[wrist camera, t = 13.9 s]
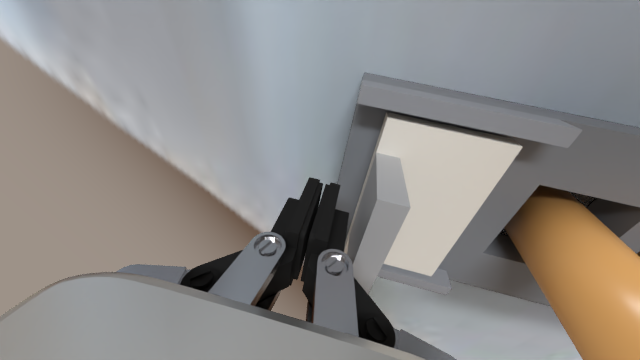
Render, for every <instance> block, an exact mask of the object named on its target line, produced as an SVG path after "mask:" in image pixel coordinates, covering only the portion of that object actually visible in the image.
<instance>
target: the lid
mask: <svg viewBox="0 0 640 360" xmlns="http://www.w3.org/2000/svg"><path fill="white" fill-rule="evenodd" d="M521 149H522V146H521V145H519V144H518V143H517V142H515V141H514V140H513V139H511V138H506V137H502V136H497V135H492V134H488V133H483V132H478V131H474V130H469V129H464V128H460V127H455V126H450V125H445V124H441V123H436V122H431V121H427V120H422V119H417V118H413V117H408V116H403V115H399V114H394V113H389V112H386V115H385V118H384V121H383V125H382V128H381V131H380V134H379V137H378V140H377V143H376V147H375V150H374V153H373V156H372V159H371V162H370V166H369V169H368V172H367V175H366V178H365V181H364V184H363V188H362V191H361V194H360V197H359V200H358V203H357V207H356V210H355V213H354V216H353V219H352V222H351V225H350V229H349V232H348V235H347V238H346V241H345V248H344V253H346V254H347V255H348V256H349V258H350V259H351V261H352V264H353V274H354V278H355V279H356V280H357V281H358V283H359V284H360V285H361V286H362V288H363V289H364V290H365V291H366V293H367V294H369V292H370V290H371V288H372V286H373V284H374V282H375V280H376V277H377V275H378V273H379V271H380V269H381V267H382V265H383V264H387V265H390V266H394V267H398V268H402V269H405V270H409V271H413V272H417V273H420V274H424V275H428V276H432V275H433V274H434V272H435V271H436V269H437V268H438V267H439V265H440V264H441V262H442V261H443V259H444V258H445V257H446V255H447V254H448V252H449V251H450V250H451V248H452V247H453V245H454V244H455V242H456V241H457V240H458V238H459V237H460V235H461V234H462V233H463V231H464V230H465V228H466V227H467V225H468V224H469V223H470V221H471V220H472V218H473V217H474V215H475V214H476V213H477V211H478V210H479V208H480V207H481V206H482V204H483V203H484V201H485V200H486V198H487V197H488V196H489V194H490V193H491V191H492V190H493V189H494V187H495V186H496V184H497V183H498V181H499V180H500V179H501V177H502V176H503V174H504V173H505V172H506V170H507V169H508V167H509V166H510V164H511V163H512V162H513V160H514V159H515V157H516V156H517V155H518V153H519V152H520V150H521Z"/></svg>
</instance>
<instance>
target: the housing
mask: <svg viewBox="0 0 640 360" xmlns="http://www.w3.org/2000/svg"><path fill="white" fill-rule="evenodd" d="M386 112H389V113H394V114H399V115H403V116H408V117H413V118H417V119H422V120H427V121H431V122H436V123H441V124H445V125H450V126H455V127H460V128H464V129H469V130H474V131H478V132H483V133H488V134H492V135H497V136H502V137H506V138H511V139H513V140H514V141H515V142H517V143H518V144H519V145H521V146H522V149H521V150H520V152H519V153H518V155H517V156H516V157H515V159H514V160H513V162H512V163H511V164H510V166H509V167H508V169H507V170H506V172H505V173H504V174H503V176H502V177H501V179H500V180H499V181H498V183H497V184H496V186H495V187H494V189H493V190H492V191H491V193H490V194H489V196H488V197H487V198H486V200H485V201H484V203H483V204H482V206H481V207H480V208H479V210H478V211H477V213H476V214H475V215H474V217H473V218H472V220H471V221H470V223H469V224H468V225H467V227H466V228H465V230H464V231H463V233H462V234H461V235H460V237H459V238H458V240H457V241H456V242H455V244H454V245H453V247H452V248H451V250H450V251H449V252H448V254H447V255H446V257H445V258H444V259H443V261H442V262H441V264H440V265H439V267H438V268H437V269H436V271H435V272H434V274H433V275H432V276H428V275H424V274H420V273H417V272H413V271H409V270H405V269H402V268H398V267H394V266H390V265H387V264H383V265H382V267H381V269H380V271H379V273H378V275H377V276H378V277H381V278H385V279H389V280H392V281H396V282H400V283H403V284H407V285H411V286H414V287H418V288H422V289H426V290H429V291H433V292H437V293H440V294H444V295H447V294H448V293H449V291H450V290H451V289H452V287H451V284H450V281H449V279H450V280H453V281H457V282H461V283H465V284H468V285H472V286H476V287H480V288H483V289H487V290H491V291H495V292H499V293H502V294H506V295H510V296H514V297H517V298H521V299H525V300H529V301H532V302H536V303H540V304H544V305H548V306H551V305H550V304H549V302H548V300H547V299H546V297H545V295H544V294H543V292H542V290H541V289H540V287H539V285H538V284H537V282H536V280H535V278H534V277H533V275H532V273H531V272H530V270H529V268H528V267H527V265H526V263H525V262H524V260H523V258H522V257H521V255H520V253H519V252H518V250H517V248H516V247H515V245H514V243H513V242H512V240H511V238H510V237H509V236H505V235H501V234H499V233H500V232H501V231H502V229H503V228H504V227H505V226H506V225H507V223H508V222H509V221H510V220H511V219H512V217H513V216H514V215H515V214H516V213H517V211H518V210H519V209H520V208H521V207H522V205H523V204H524V203H525V202H526V201H527V199H528V198H529V197H530V196H531V195H532V193H533V192H534V191H535V190H536V189H537V187H538V186H539V185H543V186H547V187H552V188H556V189H561V190H565V191H569V192H574V193H578V194H583V195H587V196H592V197H596V199H595V200H594V201H593V202H592V203H591V204H590V205H589V206H588V207H587V209H588V210H589V211H590V212H591V213H592V214H594V215H595V216H596V217H597V218H598V219H599V220H600V221H601V222H602V223H603V224H604V225H605V226H607V227H608V228H609V229H610V230H611V231H612V232H613V233H614V234H615V235H616V236H617V237H619V238H620V239H621V240H622V241H623V242H624V243H625V244H626V245H627V246H628V247H629V248H630V249H632V250H633V251H634V252H635V253H636V254H637V253H638V252H639V251H640V128H638V127H633V126H628V125H623V124H618V123H613V122H608V121H603V120H598V119H593V118H588V117H583V116H578V115H573V114H568V113H563V112H558V111H553V110H548V109H543V108H538V107H533V106H528V105H523V104H518V103H513V102H508V101H503V100H498V99H493V98H488V97H483V96H478V95H473V94H468V93H463V92H458V91H453V90H448V89H443V88H438V87H433V86H429V85H424V84H419V83H414V82H409V81H404V80H399V79H394V78H389V77H384V76H379V75H374V74H369V73H364V76H363V79H362V83H361V87H360V91H359V96H358V100H357V104H356V109H355V113H354V117H353V121H352V125H351V129H350V134H349V138H348V142H347V146H346V150H345V154H344V158H343V163H342V167H341V171H340V175H339V179H338V183H337V184H339V185H340V190H339V194H338V199H337V203H336V208H335V209H337V210H341V211H345V212H349V219H348V226H347V233H346V238H347V235H348V232H349V229H350V225H351V222H352V219H353V216H354V213H355V210H356V207H357V203H358V200H359V197H360V194H361V191H362V188H363V184H364V181H365V178H366V175H367V172H368V169H369V166H370V162H371V159H372V156H373V153H374V150H375V147H376V143H377V140H378V137H379V134H380V131H381V128H382V125H383V121H384V118H385V115H386ZM345 241H346V240H345Z"/></svg>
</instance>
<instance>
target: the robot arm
mask: <svg viewBox="0 0 640 360" xmlns="http://www.w3.org/2000/svg"><path fill="white" fill-rule="evenodd" d="M319 182H320V180H318V179H314V178H309V180H308V182H307V184H306V186H305V188H304V191H303V193H302V195H301V197H300V199H299V200H297V199H293V198H288V200H287V202H286V204H285V206H284V208H283V210H282V211H281V213H280V215H279V217H278V219H277V221H276V223H275V225H274V227H273V229H272V230H271V232H264V233H260V234H258V235H256V236H255V237H254V238H253V239H252V240H251V241H250V243H249V244H248V245H247V246H246V247H245V249H244V250H241V251H239V252H236V253H233V254H230V255H227V256H225V257H222V258H219V259H216V260H214V261H211V262H208V263H205V264H203V265H200V266H197V267H195V268H193V269H191V270H187V269H186V267H177V266H176V267H175V266H159V265H158V266H157V265H140V264H137V265H129V266H127V267H124V268H122V269H120V270H118V271H117V272H101V273H90V274H82V275H77V276H73V277H68V278H65V279H62V280H59V281H57V282H55V283H53V284H50V285H48V286H46V287H45V288H43V289H41V290H39V291H38V292H36V293H35V294H33V295H31V296H30V297H28V298H27V299H25V300H24V301H22V302H21V303H19V304H18V305H16V306H15V307H13V308H12V309H10V310H9V311H7V312H6V313H5V314H3V315H2V316H0V360H456V359H455V358H454V357H452V356H451V355H449V354H447V353H445V352H443V351H441V350H440V349H438V348H436V347H434V346H432V345H430V344H428V343H426V342H425V341H423V340H421V339H419V338H417V337H415V336H413V335H412V334H410V333H408V332H406V331H404V330H402V329H401V330H400V331H399V330H397V329H395V328H393V326H392V325H391V323H390V322H389V320H388V319H387V318H386V316H385V315H384V314H383V313H382V311H381V310H380V309H379V308H378V306H377V305H376V304H375V303H374V301H373V300H372V299H371V298H370V296H369V295H368V294H367V293H366V291H365V290H364V289H363V288H362V286H361V285H360V284H359V283H358V281H357V280H356V279H355V278H354V274H353V264H352V261H351V259H350V258H349V256H348V255H347V254H346V253H344V248H345V240H346V233H347V226H348V219H349V212H345V211H341V210H337V209H335V208H336V203H337V199H338V194H339V190H340V185H339V184H335V183H330V185H327V184H326V186H325V189H324V192H323V195H322V198H321V201H320V196H321V191H322V186H323V183H319ZM319 201H320V204H319ZM318 206H319V207H318ZM305 254H306V255H305ZM304 257H305V261H304V266H303V272H302V277H301V281H303V282H304V285H303V290H302V291H303V292H304V294H305V295H306V297H307V299H308V303H307V314H306V321H303V320H299V319H296V318H293V317H289V316H286V315H283V314H279V313H276V312H272V311H271V309H272V308H273V306H274V304H275V302H276V300H277V298H278V296H279V294H280V291H281V290H283V289H285V288H287V287H288V286H289V285H291V284H292V281H293V279H296V280H297V279H298V276H299V273H300V270H301V267H302V264H303V260H304Z"/></svg>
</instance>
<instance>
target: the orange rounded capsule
mask: <svg viewBox="0 0 640 360" xmlns="http://www.w3.org/2000/svg"><path fill="white" fill-rule="evenodd" d="M504 228H505V230H506V232H507V233H508V235H509V237H510V238H511V240H512V242H513V243H514V245H515V247H516V248H517V250H518V252H519V253H520V255H521V257H522V258H523V260H524V262H525V263H526V265H527V267H528V268H529V270H530V272H531V273H532V275H533V277H534V278H535V280H536V282H537V284H538V285H539V287H540V289H541V290H542V292H543V294H544V295H545V297H546V299H547V300H548V302H549V304H550V305H551V307H552V309H553V310H554V312H555V314H556V315H557V317H558V319H559V320H560V322H561V324H562V325H563V327H564V329H565V330H566V332H567V334H568V335H569V337H570V339H571V340H572V342H573V344H574V345H575V347H576V349H577V350H578V352H579V354H580V355H581V357H582V359H583V360H640V257H639V256H638V255H637V254H636V253H635V252H634V251H633V250H632V249H630V248H629V247H628V246H627V245H626V244H625V243H624V242H623V241H622V240H621V239H620V238H619V237H617V236H616V235H615V234H614V233H613V232H612V231H611V230H610V229H609V228H608V227H607V226H605V225H604V224H603V223H602V222H601V221H600V220H599V219H598V218H597V217H596V216H595V215H594V214H592V213H591V212H590V211H589V210H588V209H587V208H586V207H585V206H584V205H583V204H582V203H580V202H579V201H578V200H577V199H576V198H575V197H574V196H573V195H572V194H571V193H570V192H568V191H565V190H561V189H556V188H552V187H547V186H543V185H539V186H538V187H537V189H536V190H535V191H534V192H533V193H532V195H531V196H530V197H529V198H528V199H527V201H526V202H525V203H524V204H523V205H522V207H521V208H520V209H519V210H518V211H517V213H516V214H515V215H514V216H513V217H512V219H511V220H510V221H509V222H508V223H507V225H506V226H505V227H504Z"/></svg>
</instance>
